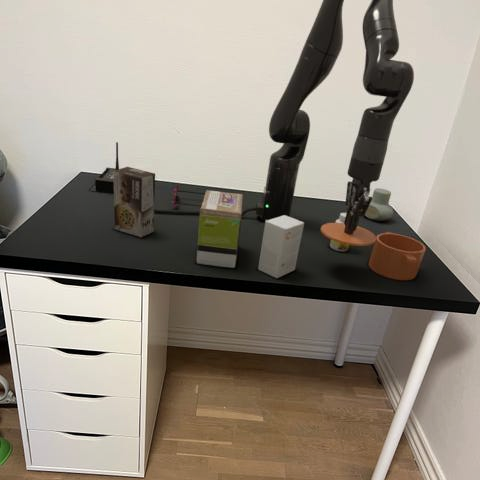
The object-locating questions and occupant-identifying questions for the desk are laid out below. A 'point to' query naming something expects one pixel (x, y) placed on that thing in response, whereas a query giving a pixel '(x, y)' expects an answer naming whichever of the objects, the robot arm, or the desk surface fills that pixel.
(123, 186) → the coffee box
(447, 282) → the desk surface
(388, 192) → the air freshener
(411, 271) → the orange pot
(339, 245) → the supplement bottle
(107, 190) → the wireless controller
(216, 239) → the tea box
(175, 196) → the glasses
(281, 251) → the small box
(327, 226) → the orange pot lid
